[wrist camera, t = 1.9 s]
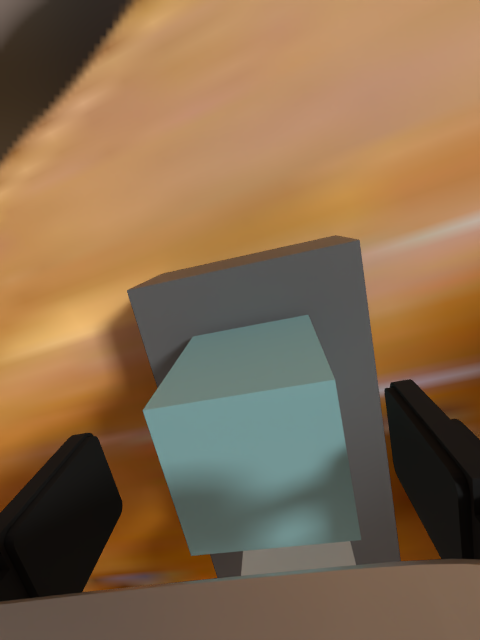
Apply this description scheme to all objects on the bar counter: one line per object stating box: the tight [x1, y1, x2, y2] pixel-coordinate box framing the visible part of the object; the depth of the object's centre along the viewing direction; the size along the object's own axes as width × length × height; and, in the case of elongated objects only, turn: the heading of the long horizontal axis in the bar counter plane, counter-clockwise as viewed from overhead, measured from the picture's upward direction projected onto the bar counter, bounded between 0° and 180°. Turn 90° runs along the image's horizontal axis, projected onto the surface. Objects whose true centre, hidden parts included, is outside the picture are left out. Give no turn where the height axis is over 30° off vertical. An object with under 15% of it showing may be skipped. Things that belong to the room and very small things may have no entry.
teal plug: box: [143, 315, 361, 556], centre depth 15 cm, size 5×5×12 cm
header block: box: [127, 235, 401, 578], centre depth 16 cm, size 10×20×11 cm, turn 13°
